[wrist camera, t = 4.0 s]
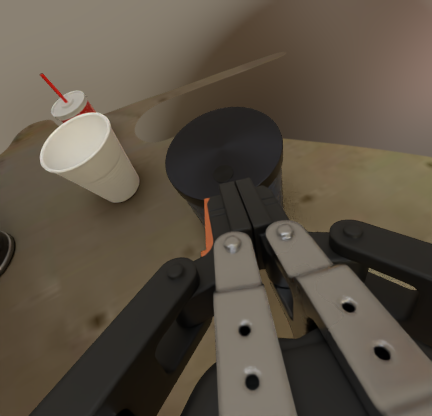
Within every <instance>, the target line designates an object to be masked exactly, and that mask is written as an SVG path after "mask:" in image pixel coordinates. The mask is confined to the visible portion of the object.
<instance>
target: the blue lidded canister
mask: <svg viewBox="0 0 432 416" xmlns="http://www.w3.org/2000/svg"><path fill="white" fill-rule="evenodd" d="M282 161H283V140H282V135H281V132H280V130H279V128H278V126H277V125H276V123H275V122H274V121H273V120H272V119H271V118H270V117H268V116H267V115H265V114H264V113H262V112H259V111H257V110H254V109H251V108H245V107H228V108H221V109H217V110H213V111H210V112H208V113H205V114H203V115H201V116H199V117H197V118H195V119H194V120H192V121H191V122H189V123H188V124H187V125H186V126H185V127H183V128H182V129H181V130H180V132H179V133H178V134H177V135H176V136H175V138H174V139H173V141H172V142H171V144H170V146H169V148H168V151H167V155H166V161H165V164H166V172H167V175H168V178H169V180H170V181H171V183H172V185H173V186H174V187H175V189H176V190H177V192H178V193H179V194H180V195H181V196H182V197H183V198H184V199H185V200H186V201H187V202H188V204H189V205H190V206H191V208H192V209H193V211H194V212H195V213H196V215H197V216H198V218H199V219H200V221H201V222H202V223H203V225H204V226H205V209H204V199H206V198H210V197H212V196H217V195H221V194H220V189H219V184H223V183H227V182H232V181H234V183H235V181H236V180H241V179H245V178H250V179H251V180H252V182H253V184H254V186H255V187H257V186H261V185H264V186H265V187H267V188H269V189H270V190H271V191H272V192H273V194H274V196H275V197H276V199H277V201H278V203H279V204H280V205H281V207H282V209H283V193H282V170H281V166H282Z"/></svg>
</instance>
